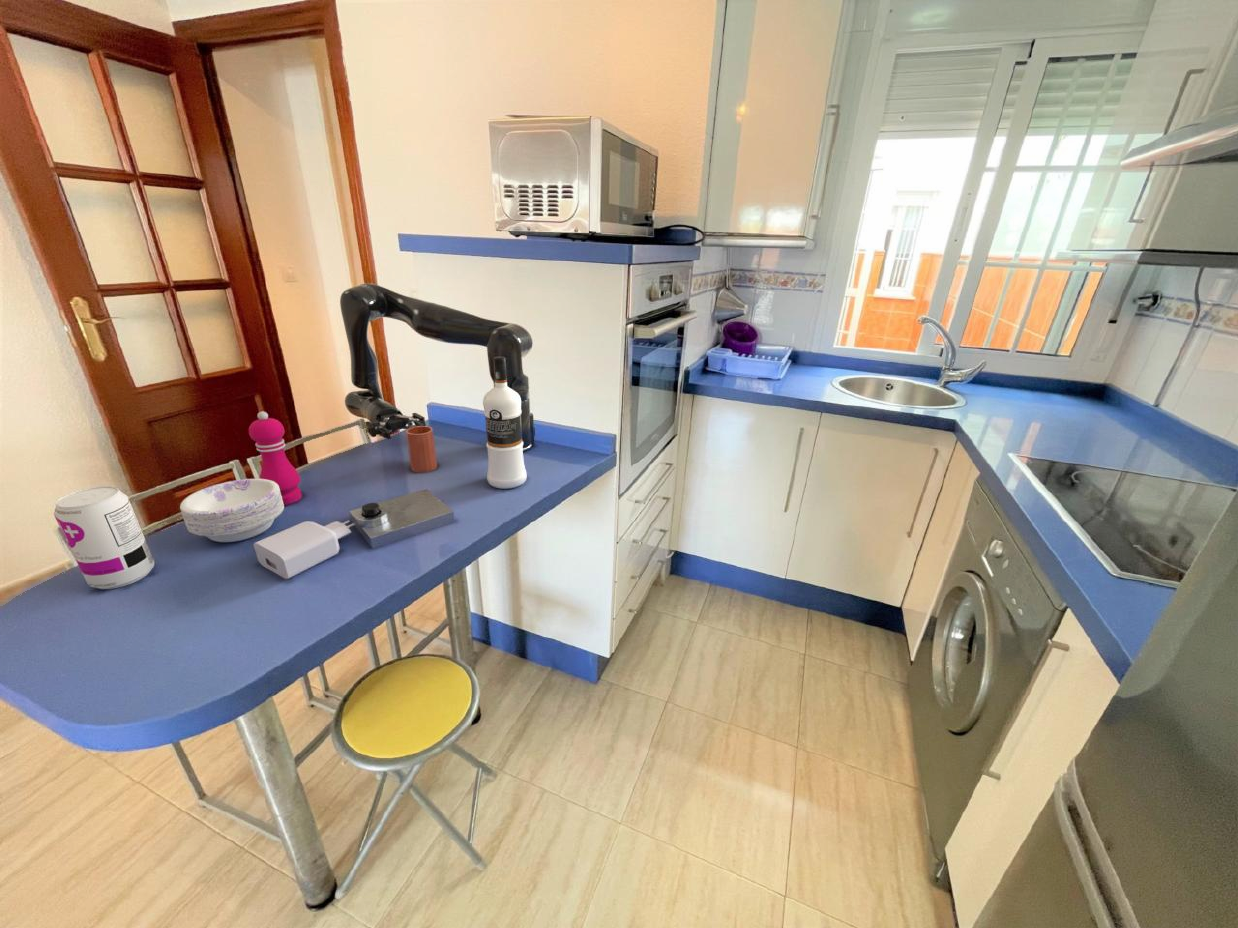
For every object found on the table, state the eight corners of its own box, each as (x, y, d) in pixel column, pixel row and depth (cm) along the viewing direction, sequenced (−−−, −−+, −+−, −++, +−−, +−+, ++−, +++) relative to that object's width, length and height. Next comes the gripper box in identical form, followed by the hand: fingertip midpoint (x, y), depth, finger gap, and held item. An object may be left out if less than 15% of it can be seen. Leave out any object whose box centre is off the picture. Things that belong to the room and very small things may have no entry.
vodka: (534, 477, 123) (528, 355, 111) (513, 493, 115) (505, 363, 103) (501, 471, 126) (493, 351, 114) (479, 485, 118) (468, 358, 106)
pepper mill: (311, 493, 112) (290, 407, 104) (289, 508, 105) (265, 418, 97) (281, 490, 113) (258, 405, 104) (257, 506, 106) (230, 416, 98)
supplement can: (99, 598, 78) (59, 514, 72) (82, 579, 82) (42, 499, 76) (164, 572, 85) (132, 493, 79) (144, 556, 89) (112, 480, 83)
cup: (431, 460, 130) (426, 424, 126) (441, 468, 126) (436, 431, 122) (407, 466, 126) (402, 429, 122) (417, 474, 122) (411, 436, 118)
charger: (369, 540, 96) (289, 581, 84) (339, 526, 100) (259, 564, 88) (365, 518, 94) (282, 557, 82) (334, 505, 98) (251, 541, 86)
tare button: (377, 509, 99) (375, 501, 99) (382, 514, 97) (381, 507, 97) (361, 513, 97) (359, 505, 97) (366, 519, 95) (364, 511, 95)
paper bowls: (258, 504, 107) (248, 470, 103) (305, 522, 101) (296, 487, 98) (174, 538, 94) (160, 500, 91) (222, 560, 88) (208, 521, 85)
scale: (428, 498, 112) (426, 482, 110) (454, 521, 103) (452, 504, 101) (348, 522, 101) (344, 504, 100) (370, 550, 93) (366, 531, 91)
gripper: (354, 407, 135) (374, 423, 124) (407, 398, 144) (430, 413, 133) (359, 433, 138) (379, 451, 127) (411, 423, 147) (434, 439, 136)
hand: (405, 432), depth 130 cm, fingers open, 8 cm apart
